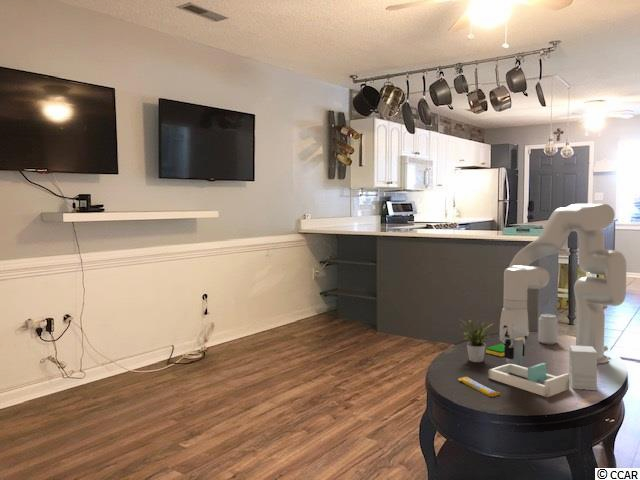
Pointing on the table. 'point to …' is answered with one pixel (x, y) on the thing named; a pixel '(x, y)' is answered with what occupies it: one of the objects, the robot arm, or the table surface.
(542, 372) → the pusher
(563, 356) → the table surface
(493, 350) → the dish sponge
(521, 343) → the jar
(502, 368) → the frame
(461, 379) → the candy bar
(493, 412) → the table surface
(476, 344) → the house plant
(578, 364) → the supplement box
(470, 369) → the table surface
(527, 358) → the table surface
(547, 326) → the can
